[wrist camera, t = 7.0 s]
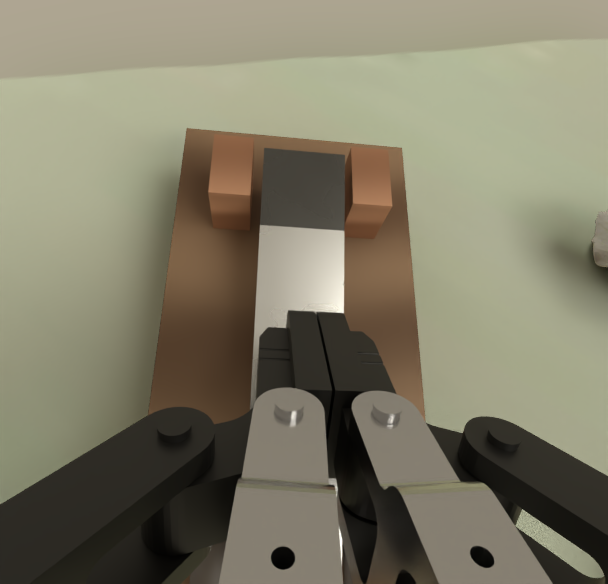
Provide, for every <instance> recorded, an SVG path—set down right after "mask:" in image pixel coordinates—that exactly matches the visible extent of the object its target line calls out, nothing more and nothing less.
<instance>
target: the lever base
mask: <svg viewBox="0 0 608 584" xmlns="http://www.w3.org/2000/svg"><path fill="white" fill-rule="evenodd" d="M264 148H273V149H284V150H296V151H307V152H318V153H330V154H341V155H345V225H344V314H345V317H346V320H347V323H348V326H349V329H350V331H362V332H364V333H365V334H366V335H367V336H368V337H369V338H370V339H372V340H373V341H374V342H375V345H376V347H377V349H378V352H379V355H380V356H381V359H382V361H383V365H384V366H385V368H386V370H387V373H388V375H389V377H390V380H391V382H392V384H393V387H394V389H395V391H396V394H397V395H399V396H402V397H404V398H405V399H407V400H409V401H410V402H411V403H412V404H414V406H415V407H416V408H417V409H418V410H419V412H420V414H421V415H422V417H423V419H424V421H425V410H424V399H423V387H422V375H421V364H420V352H419V341H418V329H417V318H416V306H415V295H414V283H413V272H412V260H411V248H410V237H409V225H408V214H407V202H406V191H405V179H404V168H403V156H402V148H397V147H386V146H375V145H364V144H353V143H342V142H331V141H320V140H309V139H298V138H287V137H276V136H266V135H255V134H244V133H233V132H222V131H211V130H200V129H189V128H187V131H186V138H185V145H184V153H183V160H182V168H181V175H180V182H179V190H178V197H177V204H176V212H175V219H174V227H173V234H172V241H171V249H170V256H169V264H168V271H167V278H166V286H165V293H164V300H163V308H162V315H161V323H160V330H159V337H158V345H157V352H156V360H155V367H154V374H153V382H152V389H151V396H150V404H149V411H148V415H150V414H152V413H154V412H156V411H159V410H162V409H165V408H171V407H189V408H194V409H197V410H200V411H202V412H204V413H205V414H207V415H208V416H209V417H210V418H211V419H212V421H213V423H214V424H218V423H223V422H227V421H231V420H234V419H237V418H239V417H241V416H243V415H244V414H246V413H247V412H249V411H250V401H251V382H252V364H253V345H254V327H255V308H256V289H257V271H258V252H259V234H260V215H261V197H262V178H263V160H264ZM225 546H226V541H224V542H221V543H218V544H215V545H212V547H211V550H210V552H209V554H208V555H207V557H206V558H205V559H204V560H203V562H202V563H201V564H200V565H199V566H198V567H197V568H196V569H195V570H194V571H193V572H192V573H191V574H190V575H189V576H188V577H187V578H186V579H185V580H184V581H183V582H182V583H181V584H219V580H220V574H221V569H222V563H223V557H224V552H225ZM342 575H343V584H353V582H352V578H351V574H350V570H349V566H348V562H347V557H346V553H345V549H344V545H343V541H342Z"/></svg>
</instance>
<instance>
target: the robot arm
mask: <svg viewBox="0 0 608 584" xmlns="http://www.w3.org/2000/svg"><path fill="white" fill-rule="evenodd" d="M329 479H336V481H337V487H338V490H337V496H336V490H335V487H334V485H329ZM522 509H523V510H525V511H526V512H527V513H529V514H530V515H532V516H533V517H535V518H536V519H538V520H539V521H541V522H542V523H544V524H545V525H547V526H548V527H550V528H551V529H553V530H554V531H555V532H557V533H558V534H560V535H561V536H563V537H564V538H566V539H567V540H569V541H570V542H572V543H573V544H575V545H576V546H578V547H579V548H580V549H582V550H583V551H585V552H586V553H588V554H589V555H590V556H591V557H593V558H594V559H595V560H596V562H597V563H598V564H599V565H600V567H601V569H602V570H603V573H604V575H605V576H604V577H602V578H591V577H588V576H585V575H583V574H582V573H580V572H578V571H577V570H576V569H574V568H573V567H571V566H570V565H569V564H567V563H566V562H564V561H563V560H562V559H560V558H559V557H557V556H556V555H555V554H553V553H552V552H550V551H549V550H548V549H546V548H545V547H543V546H542V545H541V544H539V543H538V542H536V541H535V540H534V539H532V538H531V537H529V536H528V535H527V534H525V533H524V532H522V531H521V530H520V529H518V528H517V527H515V525H516V523H517V520H518V518H519V515H520V513H521V510H522ZM339 529H340V533H341V537H342V541H343V545H344V549H345V553H346V557H347V562H348V566H349V570H350V574H351V578H352V582H353V584H608V476H606V475H605V474H603V473H601V472H599V471H598V470H596V469H594V468H592V467H590V466H589V465H587V464H585V463H583V462H581V461H580V460H578V459H576V458H574V457H572V456H571V455H569V454H567V453H565V452H564V451H562V450H560V449H558V448H556V447H555V446H553V445H551V444H549V443H547V442H546V441H544V440H542V439H540V438H539V437H537V436H535V435H533V434H531V433H530V432H528V431H526V430H524V429H522V428H521V427H519V426H517V425H515V424H513V423H511V422H508V421H506V420H503V419H499V418H495V417H476V418H473V419H471V420H470V421H468V422H467V423H466V426H465V428H464V431H463V433H459V432H455V431H451V430H447V429H443V428H439V427H436V426H432V425H430V424H427V423H426V422H425V421H424V419H423V417H422V415H421V414H420V412H419V410H418V409H417V408H416V407H415V406H414V404H412V403H411V402H410V401H409V400H407V399H405V398H404V397H402V396H399V395H397V394H396V391H395V389H394V387H393V384H392V382H391V380H390V377H389V375H388V373H387V370H386V368H385V366H384V365H383V361H382V359H381V356H380V355H379V352H378V349H377V347H376V345H375V342H374V341H373V340H372V339H370V338H369V337H368V336H367V335H366V334H365V333H364V332H362V331H350V329H349V326H348V323H347V320H346V317H345V314H344V313H336V312H316V313H315V311H296V310H288V313H287V322H286V328H277V327H268V328H267V329H266V330H265V331H264V332H263V333H262V334H261V335H260V337H259V353H258V370H257V387H256V401H255V403H254V406H253V407H252V409H251V410H250V411H249V412H247V413H246V414H244V415H243V416H241V417H239V418H237V419H234V420H231V421H227V422H223V423H218V424H214V423H213V421H212V419H211V418H210V417H209V416H208V415H207V414H205V413H204V412H202V411H200V410H197V409H194V408H189V407H171V408H165V409H162V410H159V411H156V412H154V413H152V414H150V415H148V416H146V417H145V418H143V419H142V420H140V421H138V422H137V423H135V424H133V425H132V426H130V427H128V428H127V429H125V430H123V431H122V432H120V433H118V434H117V435H115V436H113V437H112V438H110V439H108V440H107V441H105V442H103V443H102V444H100V445H98V446H97V447H95V448H93V449H92V450H90V451H88V452H87V453H85V454H83V455H82V456H80V457H78V458H77V459H75V460H74V461H72V462H70V463H69V464H67V465H65V466H64V467H62V468H60V469H59V470H57V471H55V472H54V473H52V474H50V475H49V476H47V477H45V478H44V479H42V480H40V481H39V482H37V483H35V484H34V485H32V486H30V487H29V488H27V489H25V490H24V491H22V492H20V493H19V494H17V495H15V496H14V497H12V498H10V499H9V500H7V501H6V502H4V503H2V504H1V505H0V584H181V583H182V582H183V581H184V580H185V579H186V578H187V577H188V576H189V575H190V574H191V573H192V572H193V571H194V570H195V569H196V568H197V567H198V566H199V565H200V564H201V563H202V562H203V560H204V559H205V558H206V557H207V555H208V554H209V552H210V550H211V547H212V545H215V544H218V543H221V542H224V541H226V546H225V552H224V557H223V563H222V569H221V574H220V580H219V584H343V575H342V562H341V549H340V536H339Z"/></svg>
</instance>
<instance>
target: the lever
mask: <svg viewBox="0 0 608 584" xmlns="http://www.w3.org/2000/svg"><path fill="white" fill-rule="evenodd" d="M344 225H345V155H341V154H330V153H318V152H307V151H296V150H284V149H273V148H264V160H263V178H262V197H261V215H260V234H259V252H258V271H257V289H256V308H255V327H254V345H253V364H252V382H251V401H250V410H251V409H252V407H253V406H254V403H255V401H256V387H257V370H258V353H259V337H260V335H261V334H262V333H263V332H264V331H265V330H266V329H267V328H268V327H277V328H286V322H287V313H288V310H296V311H315V313H316V312H336V313H344ZM329 485H334V487H335V490H336V496H337V490H338V487H337V481H336V479H329ZM339 536H340V549H341V562H342V537H341V533H340V529H339Z"/></svg>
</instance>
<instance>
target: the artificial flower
mask: <svg viewBox="0 0 608 584" xmlns="http://www.w3.org/2000/svg"><path fill="white" fill-rule="evenodd" d="M595 223H596V229H595V236H594V237H593V239H592V240H591V241H592V243H593V255H594V261H595V263H596V264H597V265H598V266H601V267H608V210H607V211H606V212H599V213H598V216H597V219H596V221H595Z"/></svg>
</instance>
